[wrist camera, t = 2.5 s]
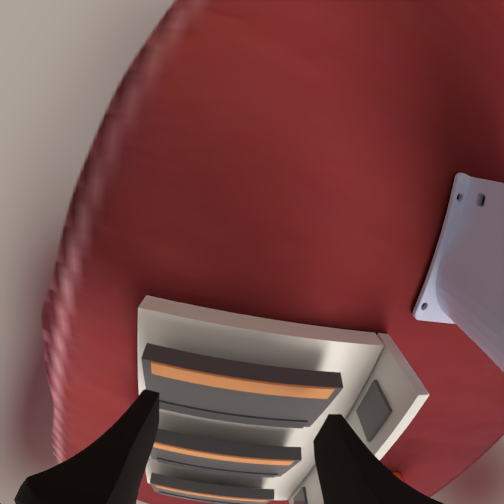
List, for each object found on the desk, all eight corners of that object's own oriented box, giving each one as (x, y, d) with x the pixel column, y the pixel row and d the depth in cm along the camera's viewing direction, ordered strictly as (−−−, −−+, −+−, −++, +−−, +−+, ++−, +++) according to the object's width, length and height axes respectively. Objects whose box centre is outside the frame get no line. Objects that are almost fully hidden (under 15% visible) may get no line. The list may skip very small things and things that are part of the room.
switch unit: (146, 294, 16) (105, 357, 10) (387, 333, 17) (429, 394, 11) (150, 471, 22) (139, 518, 17) (294, 489, 23) (300, 534, 18)
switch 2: (148, 426, 16) (144, 440, 15) (301, 447, 16) (301, 461, 15) (153, 448, 18) (151, 460, 17) (280, 465, 19) (280, 477, 18)
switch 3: (151, 472, 18) (149, 483, 17) (274, 489, 18) (274, 500, 17) (156, 482, 20) (154, 492, 19) (260, 497, 21) (260, 507, 20)
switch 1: (146, 342, 14) (140, 360, 13) (340, 372, 14) (343, 389, 13) (152, 391, 16) (148, 406, 15) (308, 414, 17) (309, 428, 16)
